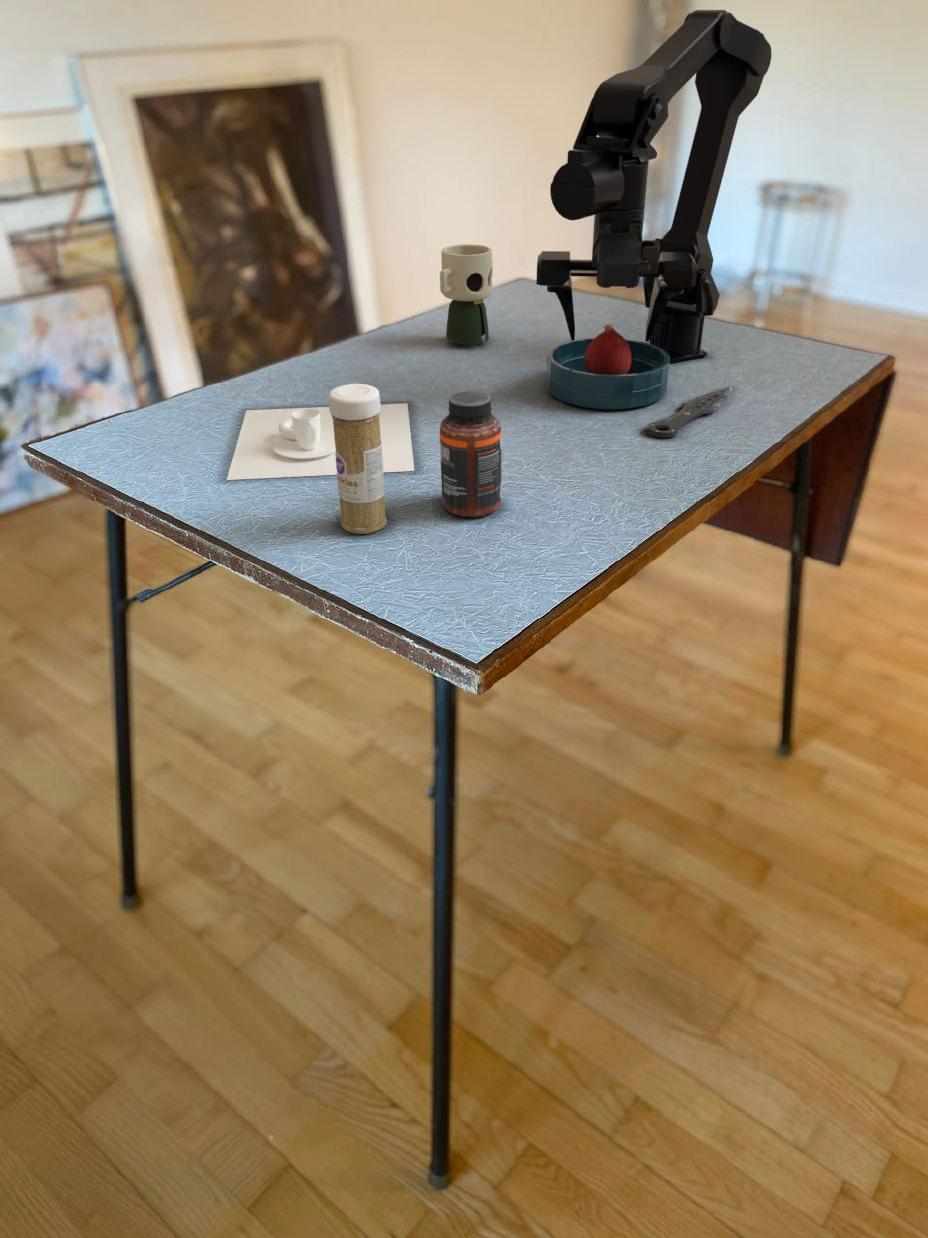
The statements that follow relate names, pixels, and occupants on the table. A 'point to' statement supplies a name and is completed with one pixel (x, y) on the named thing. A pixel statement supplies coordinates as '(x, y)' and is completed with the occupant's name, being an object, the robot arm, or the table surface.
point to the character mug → (466, 291)
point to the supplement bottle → (470, 456)
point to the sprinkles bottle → (358, 457)
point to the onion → (608, 354)
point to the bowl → (607, 377)
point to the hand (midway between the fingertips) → (609, 340)
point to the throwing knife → (689, 412)
